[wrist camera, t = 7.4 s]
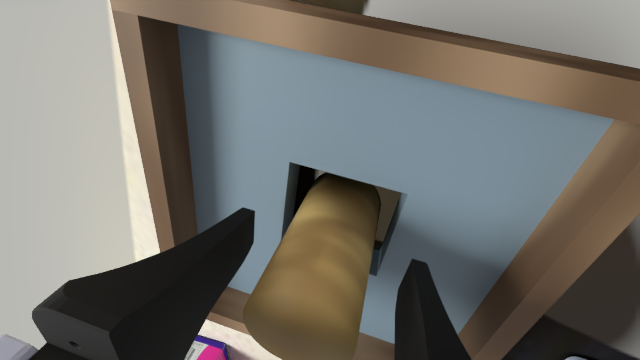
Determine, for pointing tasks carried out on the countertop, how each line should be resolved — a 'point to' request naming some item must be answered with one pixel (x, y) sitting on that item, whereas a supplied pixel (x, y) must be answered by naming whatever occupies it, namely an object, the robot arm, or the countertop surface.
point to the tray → (419, 60)
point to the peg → (318, 274)
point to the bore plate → (376, 161)
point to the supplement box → (207, 350)
